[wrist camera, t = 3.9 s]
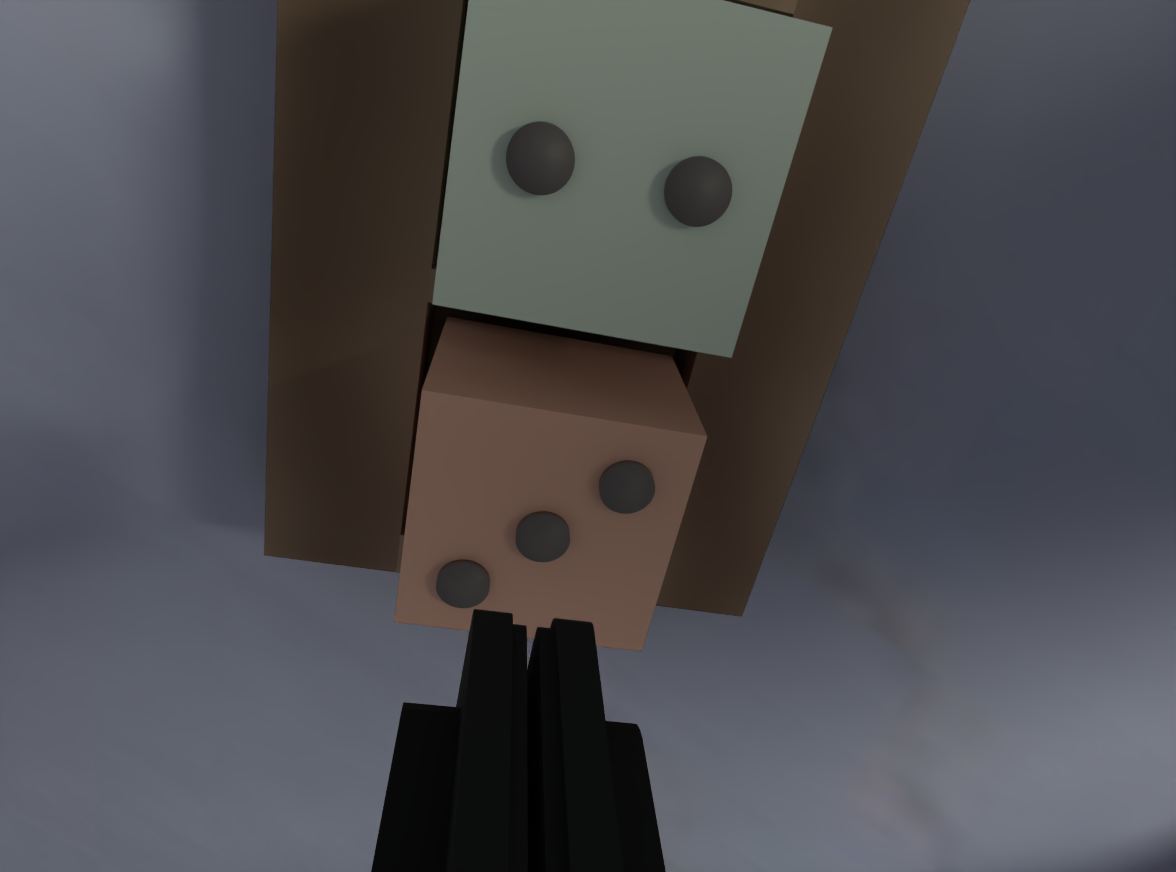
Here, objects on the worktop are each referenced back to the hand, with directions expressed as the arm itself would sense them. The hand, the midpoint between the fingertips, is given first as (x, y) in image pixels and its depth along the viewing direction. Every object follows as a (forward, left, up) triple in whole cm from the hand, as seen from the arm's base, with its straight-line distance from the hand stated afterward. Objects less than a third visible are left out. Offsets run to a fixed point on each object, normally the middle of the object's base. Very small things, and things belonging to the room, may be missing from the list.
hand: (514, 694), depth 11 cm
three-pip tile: (0, 0, -8) cm, 8 cm away
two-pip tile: (0, -7, -8) cm, 10 cm away
